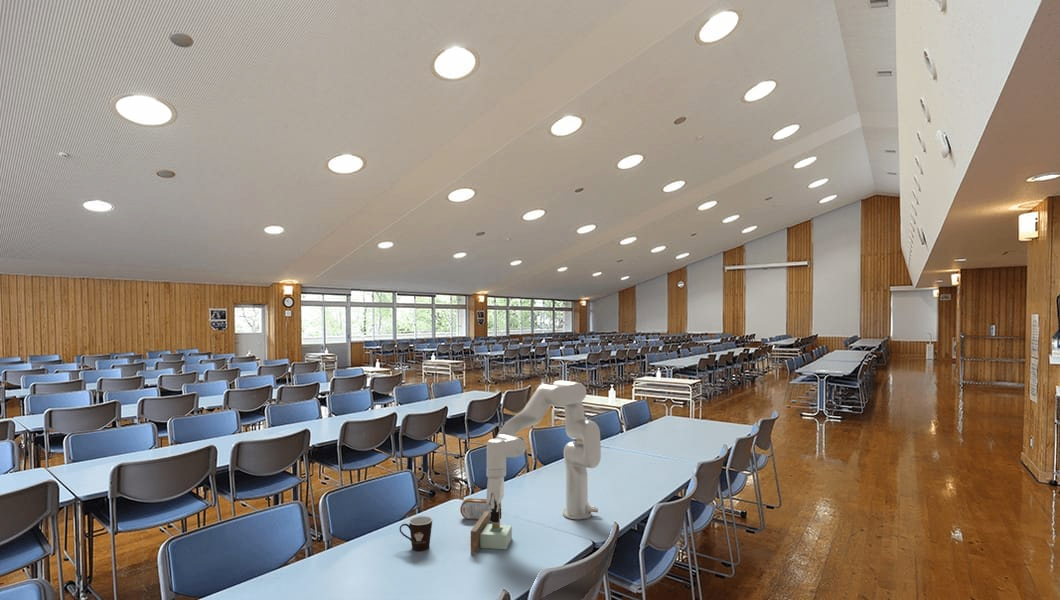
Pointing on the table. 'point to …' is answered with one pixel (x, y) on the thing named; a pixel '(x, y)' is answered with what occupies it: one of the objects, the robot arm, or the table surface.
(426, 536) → the coffee mug
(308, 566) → the table surface
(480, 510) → the tin
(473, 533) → the wall
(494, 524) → the dowel
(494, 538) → the block
